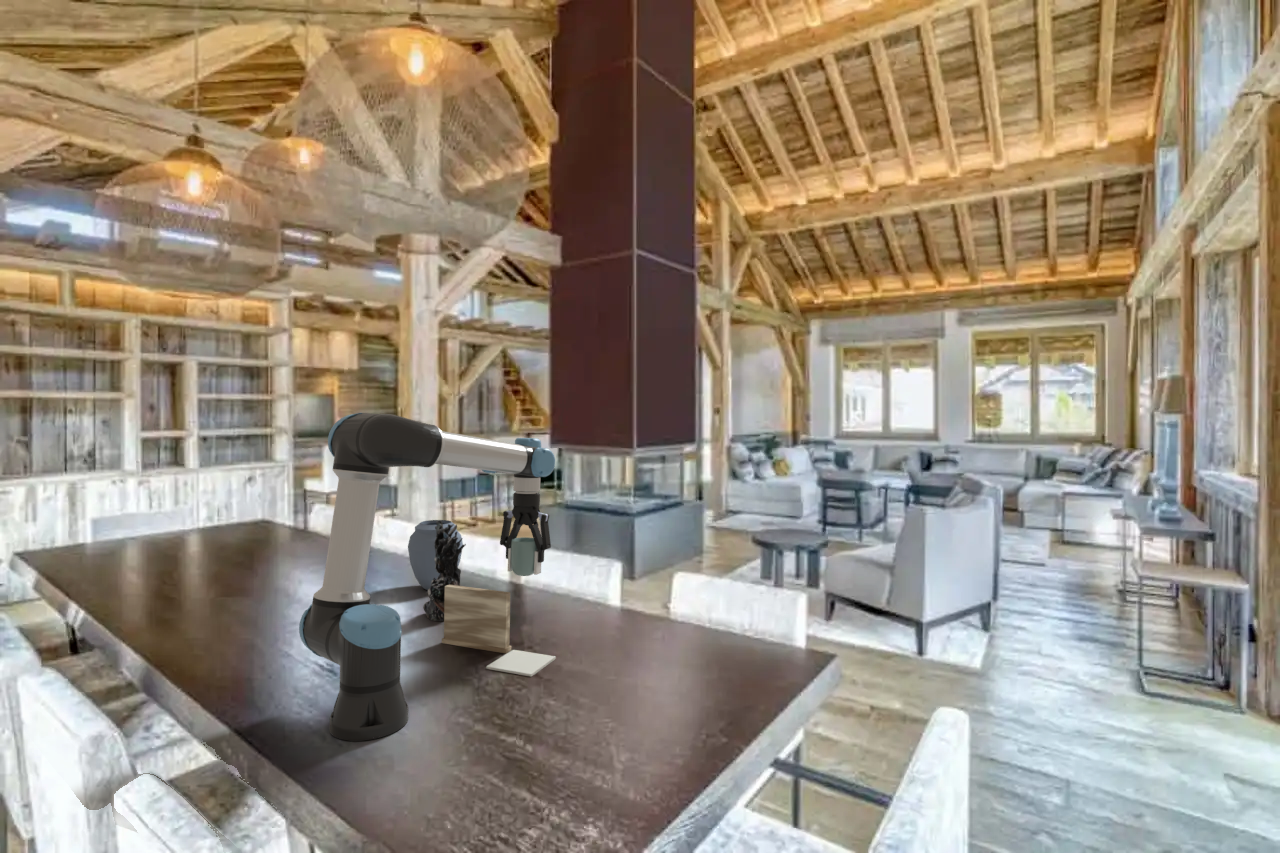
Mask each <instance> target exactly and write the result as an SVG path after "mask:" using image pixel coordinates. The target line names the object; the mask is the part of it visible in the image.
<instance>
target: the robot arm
mask: <svg viewBox="0 0 1280 853" xmlns="http://www.w3.org/2000/svg"><path fill="white" fill-rule="evenodd" d="M327 446H328V450H329V452H330V454H331V455H332V457H333V465H332V472H333V473H334V474H335V475H336V476H337V478H338V481H337V488H336V496H335V500H334V509H333V515H332V521H331V528H330V536H329V541H328V547H327V555H326V561H325V569H324V573H323V581H322V586H321V588H319V589H318V590H317V591H316V592H314V593H313V597H312V602H311V604H310V605H309V607H308V608H307V609H305V610H304V612H303V613H302V615H301V618H300V621H299V626H298V633H299V638H300V640H301V642H302V644H304V646H305V647H306V648H307V649H308V650H309V651H311V652H312V653H313V654H314V655H315V656H318V657H321V658H324V659H326V660H328V661H330V662H332V663H334V664H337V665H339V690H338V694H337V696H336V700H335V703H334V706H333V710H332V712H331V714H330V717H329V733H330V735H332V736H333V737H335V738H336V739H339V740H342V741H351V742H355V741H356V742H357V741H358V742H360V741H361V742H362V741H370V740H376V739H379V738H383V737H385V736H389V735H391V734H395V733H396V732H397V731H399V730H401V729H402V728H403V727H405V726H406V724H407V723H408V721H409V705H408V703H407V702H406V699H405V695H404V691H403V688H402V683H401V657H402V656H401V652H402V651H401V650H402V648H401V647H402V645H401V644H402V633H403V629H402V622H401V616H400V613H398V611H397V610H396V609H394V608H392V607H390V606H389V605H384V604H379V605H377V603H375V604H374V603H371V595H370V594H369V593H368V590H366V589H365V586H366V579H367V572H368V567H369V566H368V565H369V559H370V554H371V553H370V552H371V544H372V537H373V531H374V523H375V516H376V510H377V503H378V498H379V490H380V483H381V482H382V481H383V480H384V479H386V478H387V477H388V476H389V471H390V470H389V469H390V468H393V467H395V468H396V467H397V468H398V467H420V468H432V467H433V466H434V465H441V466H451V467H457V468H465V469H473V470H481V472H483V473H486V474H492V475H493V474H509V475H513V488H512V489H513V491H514V492H513V494H512V499H513V500H512V504H513V508H512V510H510V509H509V510H504V511H503V513H502V515H503V522H502V529H501V534H500V539H499V540H500V541H499V545H500V546H503V547H505V559H506V560H507V572H513V570H512V566H511V541H512V539H515V538H518V534H519V532H520V530H521V528H522V526H523V525H524V526H528V528H529V529H530V532H531V535H532V538H534V541H535V544H536V547H537V550H536V551H535V557H534V574H533V575H535V576H536V575H540V574H541V573H542V563H543V562H544V560H545V551H546V550H549V549H552V548H551V547H552V544H551V543H552V542H551V536H550V527H549V519H550V514H549V513H542V512H541V510H540V504H541V503H540V502H541V493H540V491H541V478H546V477H548V476H550V475H551V474H552V473H553V471H554V469H555V465H556V458H555V454H554V452H553V451H552V450H551V449H549V448H547V447H542V441H541V439H539V438H536V437H535V438H534V437H533V438H532V437H517V438H515V440H514V443H513V442H508V441H501V440H495V439H489V438H483V437H478V436H474V435H473V436H472V435H466V434H462V433H455V432H449V431H444V430H441V429H440V428H439V426H437V425H435V424H432V423H431V424H430V423H426V422H421V421H418V420H413V419H411V418H407V417H403V416H400V415H396V414H391V413H369V412H357V413H352V414H348V415H345V416H343V417H341V418H340V419H338V420H337V421H336V422H335V423H334V424H333V426H332V427H331V428H330V431H329V433H328V437H327ZM513 517H514V522H513V521H512V520H513ZM538 519H539V521H540V528H539V522H538ZM512 522H513V523H512ZM511 526H512V528H511ZM370 603H371V604H370Z"/></svg>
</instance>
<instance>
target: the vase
mask: <svg viewBox="0 0 1280 853" xmlns="http://www.w3.org/2000/svg"><path fill="white" fill-rule="evenodd" d="M438 520H439V519H432V520H431V519H429V520H423V521H421V522H419V523H418V524H417V525H415V526H414V531H413V533H412V534H411V535H410V536H409V541H408V543H407V544H408V545H407V549H408V550H407V551H408V557H409V558H408V559H409V563H410V567H411V569H412V572H413V574H414V578H415V580H417V582H418V584H419V585H420V586H421V588H422V589H424V590H426V591H428V590H429V589H430V588H431V582H432V579H433V578H435V579H437V577H438V576H439V575H440V573H437V571H436V569H435V553H436V552H435V547H434V543H435V539H436V535H437V534H436V529H435V526H437V523H436V521H438ZM440 520H441V521H442V524H443V528H446V527H448V524H450V525H452V524H454V525H453V526H452V527H451V528H450V531H451V530H452V529H453V528H454V526H456V524H455V523H454V522H452V521H451V520H447V519H440ZM457 528H458V527H457ZM457 528H456V530H455V531H454V533H453V534H452V536H451V537H454V536H455V532H457V531H458V529H457ZM450 531H449V533H450ZM457 538H458V539H457V541H456V543H457V542H459V541H460V540H461V539H462V538H463V537H462V534H461V533H460V531H458V532H457ZM459 544H460V546H459V548H460V547H461V546H462V545H464V542H463V539H462V540H461V542H460V543H459ZM459 548H458V549H459ZM462 553H463V551H462V552H461V553H460V554H459V556H458V563H457V566H458V567H459V565H460V563H461V559H462V558H461V557H462Z"/></svg>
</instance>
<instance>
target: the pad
mask: <svg viewBox="0 0 1280 853" xmlns="http://www.w3.org/2000/svg"><path fill="white" fill-rule="evenodd" d="M556 659H557V657H556V656H555V655H549V654H542V653H537V652H530V651H523V650H517V649H511V651H509V652H508V653H504V654H503V655H502V656H501V657H499V658H497V659H496V660H494V661H493V662H491V663H489V664H488V665H486V667H485V668H486V670H491V671H496V672H502V673H509V674H516V675H520V676H525V677H530V678H531V677H533V676H535V675H536V674H537V673H539V672H540V671H541V670H542V669H544V668H545V667H547V666H548V665H549V664H551V663H552V662H553V661H555V660H556Z"/></svg>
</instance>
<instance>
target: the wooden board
mask: <svg viewBox="0 0 1280 853" xmlns="http://www.w3.org/2000/svg"><path fill="white" fill-rule="evenodd" d="M510 623H511V591H502V590H496V589H494V590H493V589H489V588H488V589H487V588H479V587H473V586H472V587H471V586H465V585H464V586H463V585H460V586H456V585H447V586H445V601H444V621H443V637H442V638H441V644H446V645H453V646H456V647H457V646H458V647H465V648H468V649H469V648H471V649H476V650H482V651H488V652H494V653H495V652H496V653H500V654H507V653H509V652H510V651H512V645H510V639H511V638H510V636H511V635H510V634H511V633H510V629H511V627H510V626H511V624H510Z"/></svg>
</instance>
